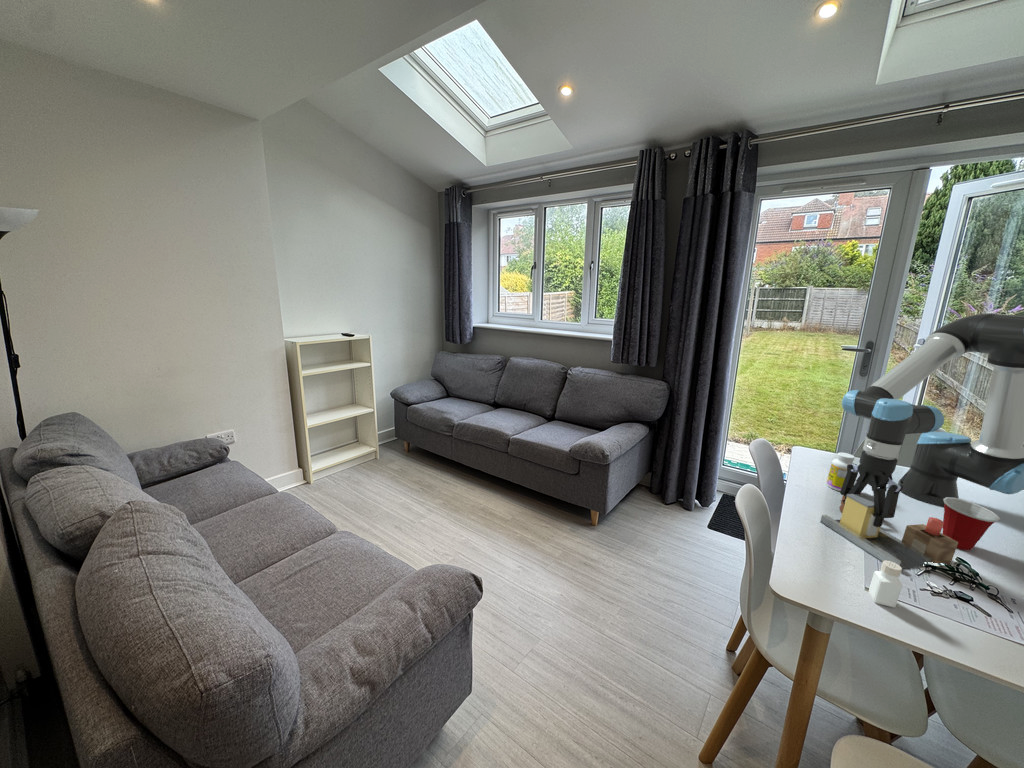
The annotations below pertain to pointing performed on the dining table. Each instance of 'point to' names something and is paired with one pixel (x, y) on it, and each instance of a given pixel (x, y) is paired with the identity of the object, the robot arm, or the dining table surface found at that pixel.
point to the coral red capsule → (934, 526)
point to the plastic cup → (966, 522)
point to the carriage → (858, 513)
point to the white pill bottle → (886, 584)
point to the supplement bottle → (839, 470)
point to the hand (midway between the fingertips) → (858, 527)
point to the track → (880, 545)
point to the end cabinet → (930, 543)
